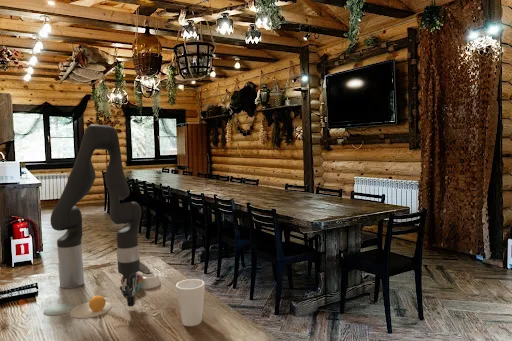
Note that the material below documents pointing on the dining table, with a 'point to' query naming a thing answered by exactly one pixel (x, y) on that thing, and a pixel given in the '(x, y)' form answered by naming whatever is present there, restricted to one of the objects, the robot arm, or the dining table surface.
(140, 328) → the dining table surface
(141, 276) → the cupcake
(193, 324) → the foam cup
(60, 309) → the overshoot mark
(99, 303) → the ball
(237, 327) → the dining table surface
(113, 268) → the dining table surface
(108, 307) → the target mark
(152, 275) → the inkwell
